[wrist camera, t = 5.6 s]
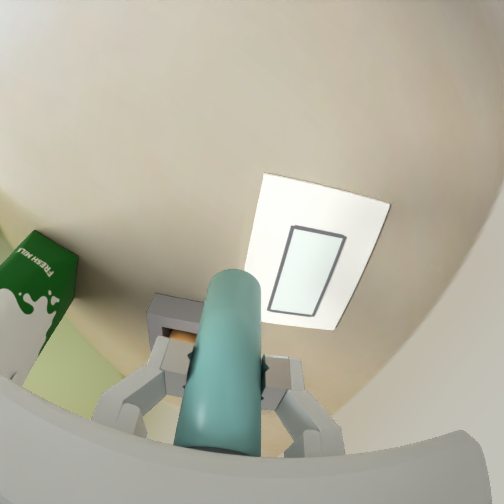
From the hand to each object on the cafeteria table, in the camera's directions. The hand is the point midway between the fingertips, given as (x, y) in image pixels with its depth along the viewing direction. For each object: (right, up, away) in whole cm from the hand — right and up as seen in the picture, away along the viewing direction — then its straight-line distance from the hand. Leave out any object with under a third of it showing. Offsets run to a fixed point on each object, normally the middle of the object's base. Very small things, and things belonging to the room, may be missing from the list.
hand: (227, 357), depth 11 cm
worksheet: (+6, +3, +14) cm, 16 cm away
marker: (0, +2, +4) cm, 5 cm away
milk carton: (-22, +3, +16) cm, 27 cm away
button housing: (-6, -4, +19) cm, 20 cm away
